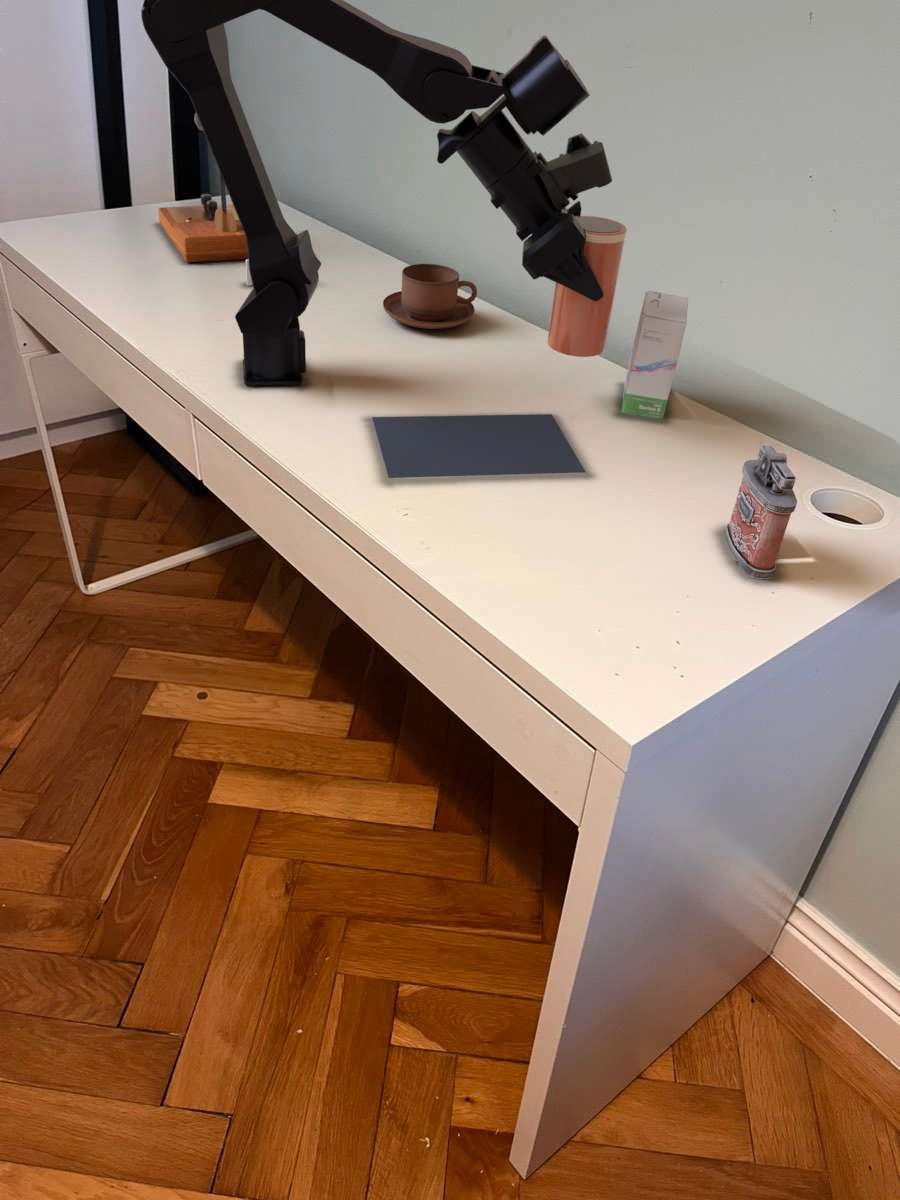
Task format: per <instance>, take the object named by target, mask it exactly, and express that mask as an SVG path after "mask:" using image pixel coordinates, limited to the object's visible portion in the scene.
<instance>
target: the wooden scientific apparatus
mask: <svg viewBox="0 0 900 1200" xmlns="http://www.w3.org/2000/svg"><path fill="white" fill-rule="evenodd" d="M193 117H194V118H193V120H194V124H195V125H196V127H197V128H198V129H199V130H200V131H202V132H203V133H204V131H203V128H202V126H201V123H200V121H199V118H198V116H197V113H196V112H195V113H194V116H193ZM218 171H219V170H218ZM218 173H219V186H220V187H219V188H220V203H221V204H218V202H217V201H216V200H213V196H212V195H211V194H209V193H202V194H201V195H200V205H189V206H187V205H186V206H167V207H164V206H163V207H158V211H157V212H158V220H159V224H160V226H161V227H162V229H163V230H164V231H165V233H166V234H167V237H169V239H170V240H171V242H172V243H173V245H174V246H175V247H176V249H177V251H178V252H179V253H180V255H181V256H182V258H183V259H184V262H186V263H202V262H204V263H205V262H218V261H232V260H233V261H234V260H235V261H236V260H245V274H246V286H247V287H249V286H250V287H251V286H253V284H252V280H251V275H250V271H249V260H248V248H247V239H246V235H245V233H244V230H243V228H242V225H241V223H240V220H239V218H238V215H237V213H236V210H235V208H234V205H233V203H231V204H227V193H226V192H227V191H226V190H227V189H226V185H225V183H224V181H223V178H222V176H221V173H220V171H219V172H218Z"/></svg>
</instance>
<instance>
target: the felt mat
mask: <svg viewBox="0 0 900 1200" xmlns="http://www.w3.org/2000/svg"><path fill="white" fill-rule="evenodd" d="M371 418H372V423H373V426H374V431H375V434H376V437H377V441H378V444H379V448H380V452H381V455H382V459H383V463H384V467H385V470H386V474H387V477H388V479H399V478H401V479H402V478H434V477H440V478H441V477H472V476H473V477H474V476H476V477H477V476H506V475H507V476H508V475H541V474H542V475H543V474H575V473H578V474H579V473H586V470H585V468H584V467H583V465H582V463H581V462H580V460H579V458H578V457H577V455H576V454H575V452H574V449H573V448H572V447H571V445H570V443H569V442H568V440H567V438H566V436H565V435H564V433H563V431H562V430H561V428H560V426H559V424H558V423H557V421H556V419H555V418H554V416H553V414H552V413H548V414H547V413H543V414H541V413H540V414H485V415H483V414H482V415H481V414H480V415H479V414H478V415H423V416H422V415H420V416H417V415H416V416H372V417H371Z"/></svg>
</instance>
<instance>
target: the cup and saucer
mask: <svg viewBox="0 0 900 1200" xmlns="http://www.w3.org/2000/svg"><path fill="white" fill-rule="evenodd" d="M462 287H469V289H470V290H471V295H470V296H469V297H468V298H465V297H464V296H461V295H459V294H458V292H459V289H460V288H462ZM477 295H478V288H477V286H476V285H475V284H474V283H473V282H472V281H469V280H460V274H459V272H458V271H457V270H455V269H454V268H453V267H449V266H446V265H441V264H435V263H415V264H410V265H408V266H405V267H404V268H403V269H402V270H401V290H400V291H396V292H393V293H391V294H388V295H387V296H386V297H384V299H383V300H382V307H383V310H384V312H385V313H386V314H387V315H388V316H389V317H390V318H392V319H393V320H394V321H397V322H399V323H400V324H403V325H406V326H410V327H414V328H419V329H428V330H442V329H449V328H455V327H458V326H460V325H463V324H464V323H465V324H466V322H468V321H469V320H470V319H472V317H473V315H474V313H475V307H474V304H473V302H474V301H475V300H476V298H477Z"/></svg>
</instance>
